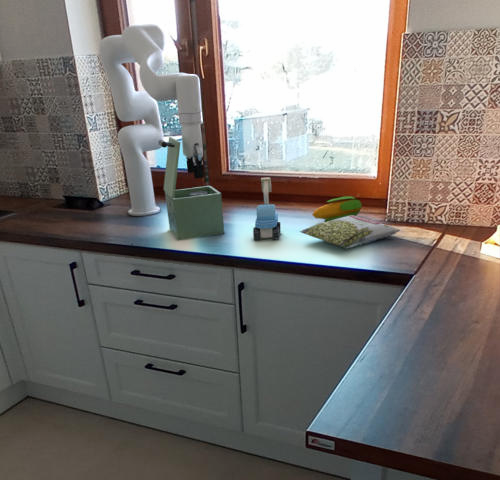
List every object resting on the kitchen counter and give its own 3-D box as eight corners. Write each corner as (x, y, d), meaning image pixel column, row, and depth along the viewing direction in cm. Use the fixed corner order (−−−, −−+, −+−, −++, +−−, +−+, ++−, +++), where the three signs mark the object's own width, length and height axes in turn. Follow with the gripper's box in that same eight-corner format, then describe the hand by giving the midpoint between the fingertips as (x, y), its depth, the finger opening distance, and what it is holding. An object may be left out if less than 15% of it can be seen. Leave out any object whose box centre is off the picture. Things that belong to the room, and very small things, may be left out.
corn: (367, 194, 204) (318, 203, 197) (367, 217, 208) (319, 226, 201) (354, 192, 210) (307, 201, 203) (354, 214, 214) (308, 223, 207)
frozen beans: (298, 222, 185) (356, 207, 196) (298, 240, 188) (355, 224, 199) (344, 237, 170) (403, 220, 182) (343, 257, 173) (401, 239, 185)
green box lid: (171, 137, 194) (156, 134, 192) (180, 142, 182) (164, 139, 180) (165, 190, 202) (151, 188, 200) (174, 198, 190) (159, 196, 188)
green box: (213, 224, 213) (210, 185, 206) (224, 233, 201) (221, 193, 194) (169, 230, 209) (164, 191, 202) (178, 240, 197) (173, 199, 190)
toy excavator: (282, 227, 203) (280, 175, 194) (279, 241, 189) (277, 186, 180) (257, 228, 204) (255, 176, 195) (253, 242, 190) (250, 187, 181)
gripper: (173, 116, 193) (179, 171, 202) (185, 122, 179) (190, 181, 188) (195, 115, 194) (200, 169, 204) (208, 120, 180) (213, 178, 190)
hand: (195, 175), depth 196 cm, fingers open, 9 cm apart
